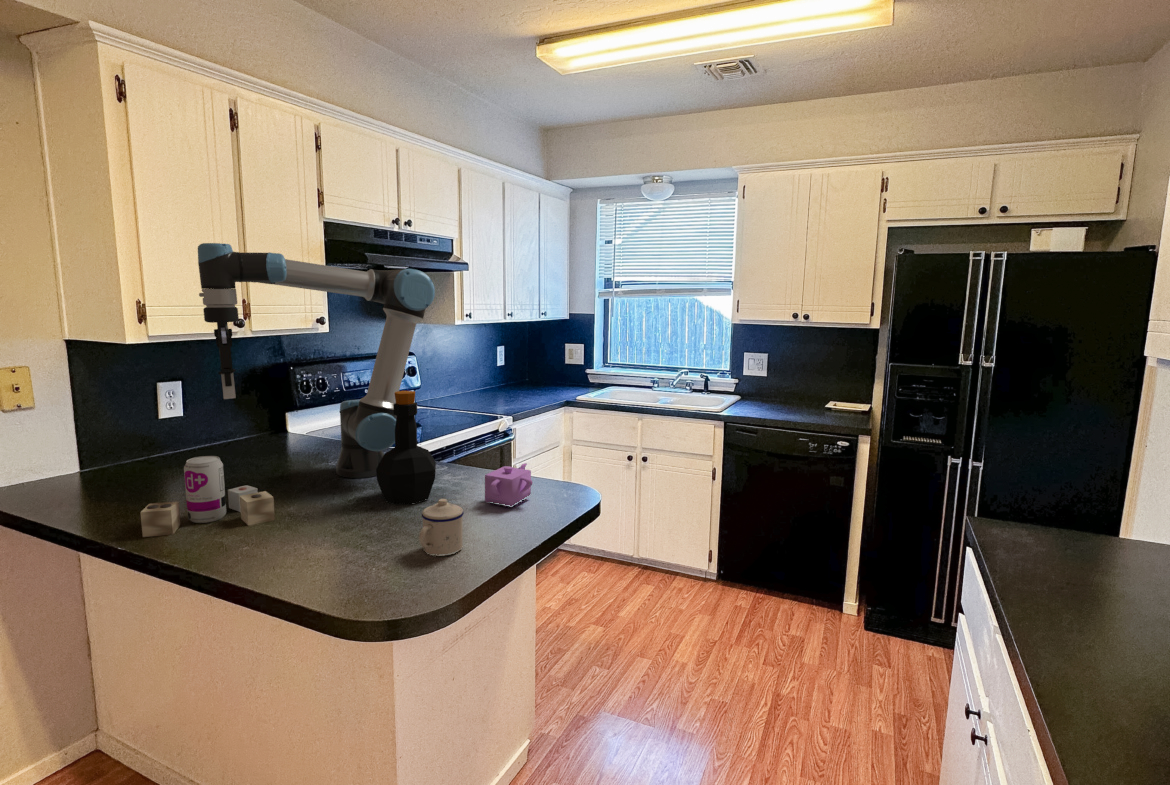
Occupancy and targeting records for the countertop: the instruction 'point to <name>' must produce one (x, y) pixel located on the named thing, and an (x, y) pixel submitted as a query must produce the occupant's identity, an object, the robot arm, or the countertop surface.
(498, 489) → the teapot
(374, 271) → the robot arm
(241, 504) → the maple block
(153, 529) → the maple block
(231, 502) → the grey plastic block
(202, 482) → the supplement can
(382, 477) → the bottle
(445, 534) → the teacup with lid
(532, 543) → the countertop surface
